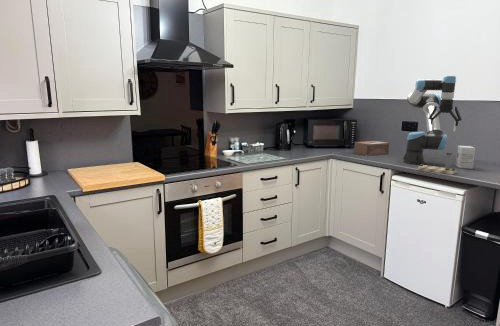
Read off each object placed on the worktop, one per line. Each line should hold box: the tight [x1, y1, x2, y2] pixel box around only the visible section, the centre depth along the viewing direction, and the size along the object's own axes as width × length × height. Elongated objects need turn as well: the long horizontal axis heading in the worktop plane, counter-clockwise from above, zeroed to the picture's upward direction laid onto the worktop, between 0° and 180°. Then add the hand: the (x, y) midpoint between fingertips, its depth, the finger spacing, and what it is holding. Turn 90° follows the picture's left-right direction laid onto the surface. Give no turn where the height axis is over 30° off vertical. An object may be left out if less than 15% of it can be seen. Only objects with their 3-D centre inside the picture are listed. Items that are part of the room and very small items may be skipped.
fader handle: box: [444, 151, 453, 170], centre depth 229 cm, size 2×4×11 cm, turn 136°
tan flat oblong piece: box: [417, 164, 457, 175], centre depth 234 cm, size 21×10×3 cm, turn 46°
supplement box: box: [455, 145, 476, 170], centre depth 248 cm, size 9×9×15 cm
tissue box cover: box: [353, 140, 390, 156], centre depth 306 cm, size 26×14×10 cm, turn 115°
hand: (443, 130), depth 241 cm, fingers open, 13 cm apart
